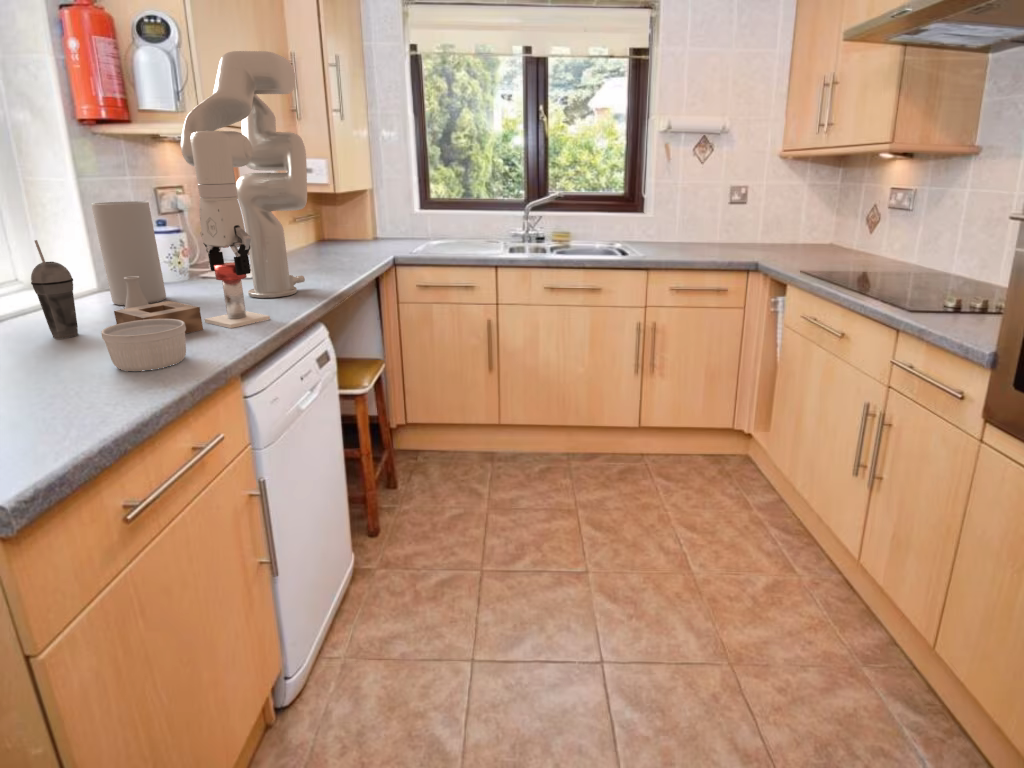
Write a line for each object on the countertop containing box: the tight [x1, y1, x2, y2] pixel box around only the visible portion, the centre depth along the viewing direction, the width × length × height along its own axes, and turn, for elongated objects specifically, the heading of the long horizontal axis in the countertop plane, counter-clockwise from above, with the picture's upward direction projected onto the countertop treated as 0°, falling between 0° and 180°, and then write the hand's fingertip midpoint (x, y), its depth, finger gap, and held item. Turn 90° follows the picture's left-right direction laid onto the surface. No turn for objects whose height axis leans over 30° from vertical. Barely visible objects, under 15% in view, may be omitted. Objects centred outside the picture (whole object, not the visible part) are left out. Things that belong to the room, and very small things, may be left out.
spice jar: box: [214, 261, 247, 319], centre depth 145 cm, size 6×6×12 cm
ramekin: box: [100, 319, 187, 372], centre depth 116 cm, size 13×13×7 cm
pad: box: [204, 310, 271, 329], centre depth 147 cm, size 10×10×1 cm
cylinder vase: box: [91, 200, 167, 306], centre depth 165 cm, size 12×12×25 cm
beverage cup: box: [30, 239, 79, 339], centre depth 133 cm, size 7×7×20 cm
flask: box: [124, 276, 149, 309], centre depth 147 cm, size 7×7×10 cm
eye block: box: [113, 300, 204, 335], centre depth 138 cm, size 12×12×5 cm
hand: (230, 272), depth 144 cm, fingers open, 9 cm apart
